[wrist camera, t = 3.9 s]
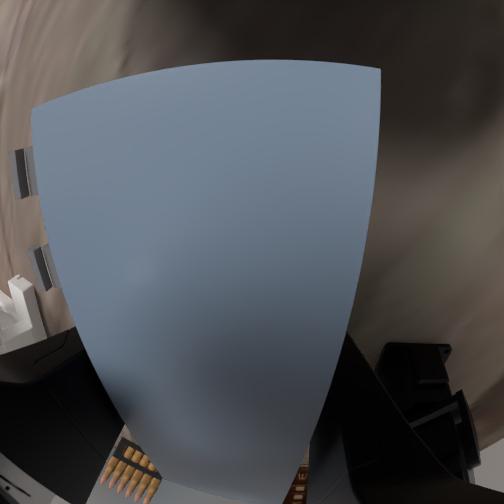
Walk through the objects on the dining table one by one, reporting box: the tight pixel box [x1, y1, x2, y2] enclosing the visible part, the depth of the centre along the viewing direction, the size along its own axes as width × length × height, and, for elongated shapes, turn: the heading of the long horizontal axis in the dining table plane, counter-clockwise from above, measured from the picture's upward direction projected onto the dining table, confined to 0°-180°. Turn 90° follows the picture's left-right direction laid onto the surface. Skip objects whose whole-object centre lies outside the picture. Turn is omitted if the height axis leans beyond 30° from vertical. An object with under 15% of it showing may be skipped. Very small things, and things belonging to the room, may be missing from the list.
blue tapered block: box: [31, 60, 381, 504], centre depth 7 cm, size 12×4×5 cm, turn 179°
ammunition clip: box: [101, 437, 163, 504], centre depth 39 cm, size 11×2×12 cm, turn 70°
